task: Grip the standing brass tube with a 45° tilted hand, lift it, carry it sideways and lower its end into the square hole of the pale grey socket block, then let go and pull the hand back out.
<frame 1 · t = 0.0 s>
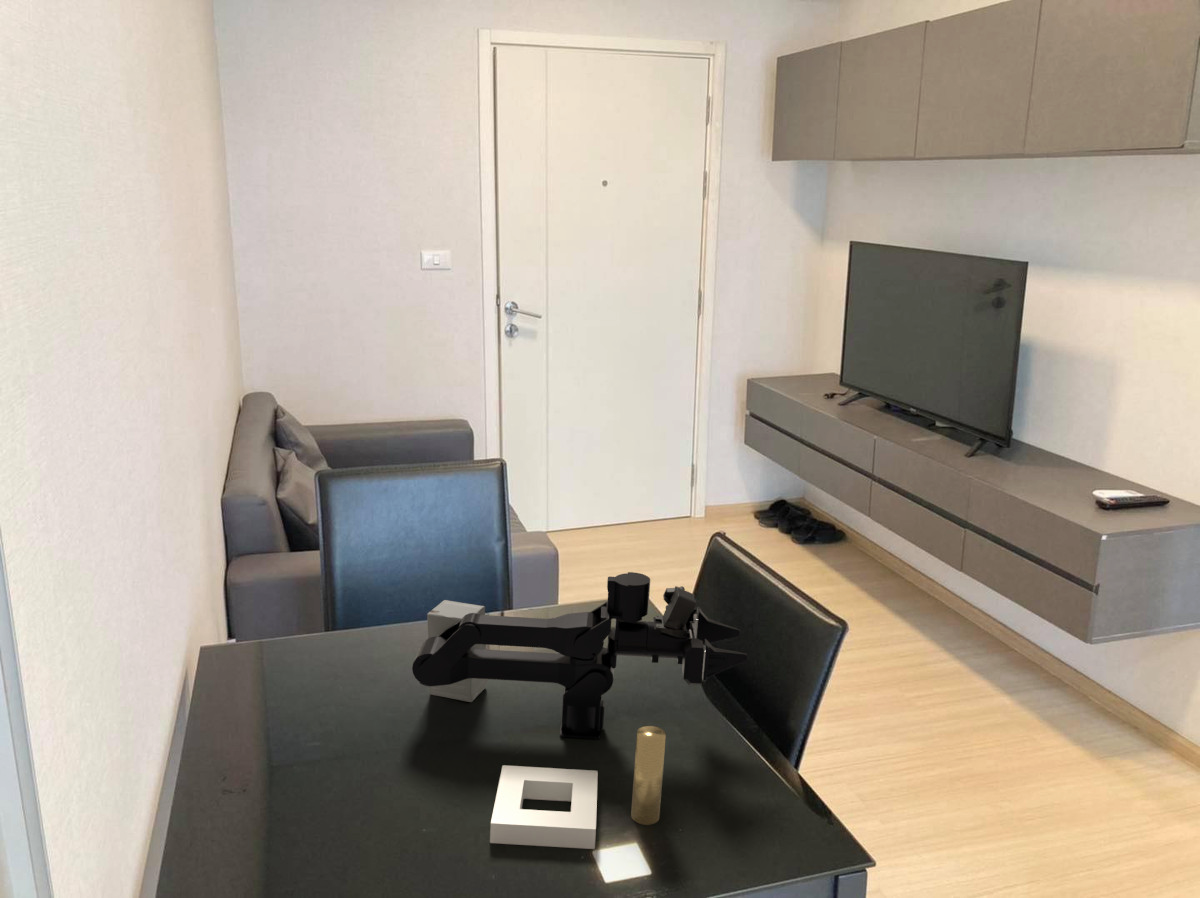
hand: (743, 644, 156), 17 cm above the table, tool horizontal, fingers open, 9 cm apart
skincare box: (456, 693, 170), on the table
brass tube: (645, 816, 138), on the table
socket block: (545, 814, 137), on the table
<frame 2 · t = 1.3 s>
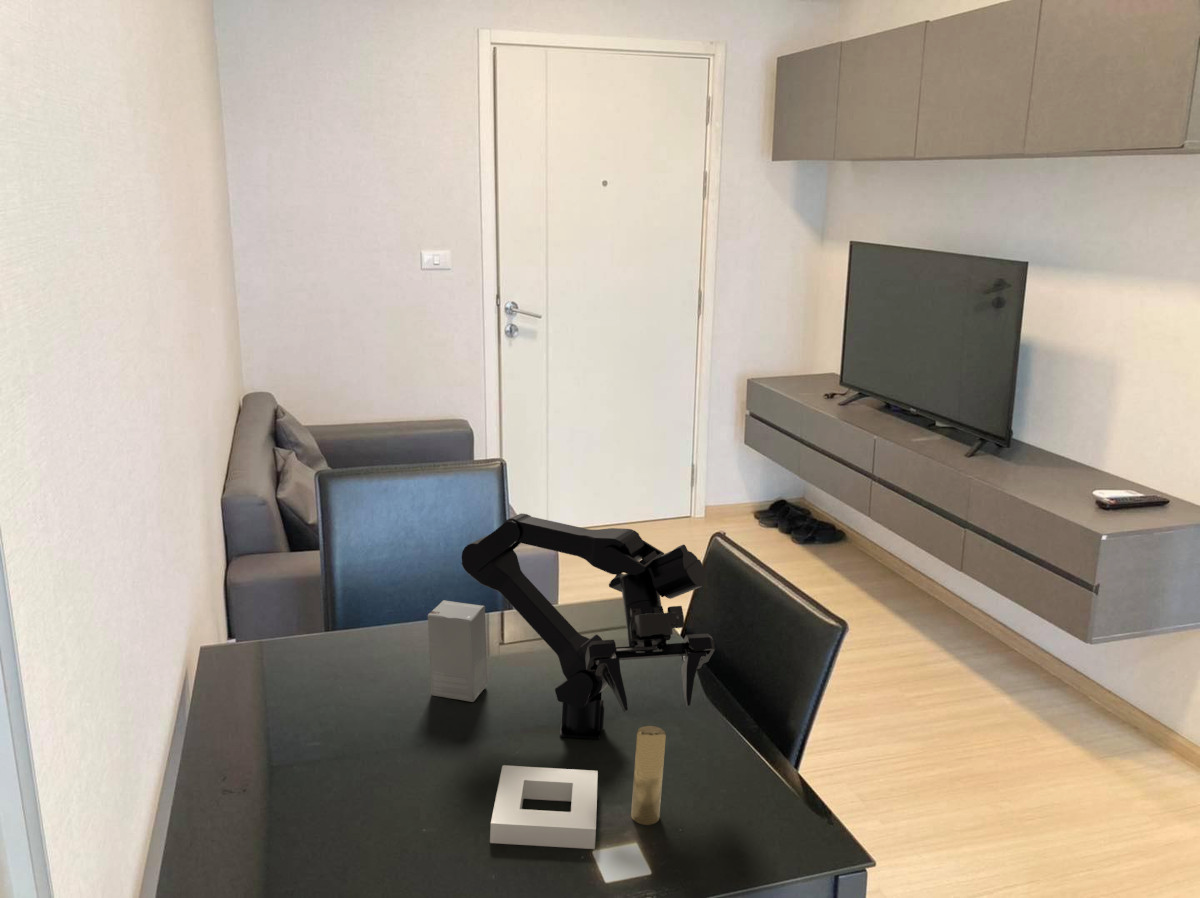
hand: (657, 708, 140), 13 cm above the table, tool tilted 45°, fingers open, 9 cm apart
nothing on the table moved.
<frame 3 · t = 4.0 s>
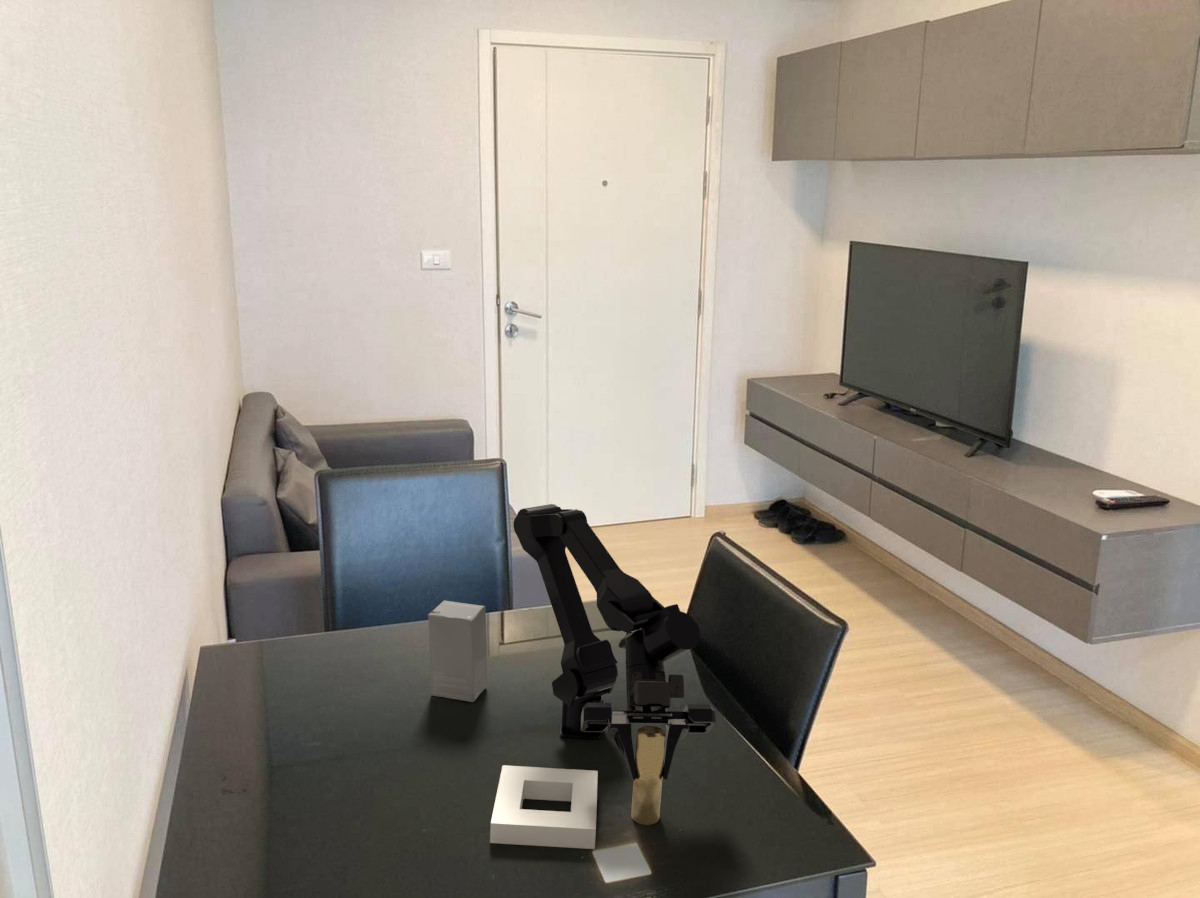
hand: (649, 780, 135), 7 cm above the table, tool tilted 45°, fingers closed on brass tube, 4 cm apart
brass tube: (645, 816, 138), on the table, touching gripper
everything else where it was.
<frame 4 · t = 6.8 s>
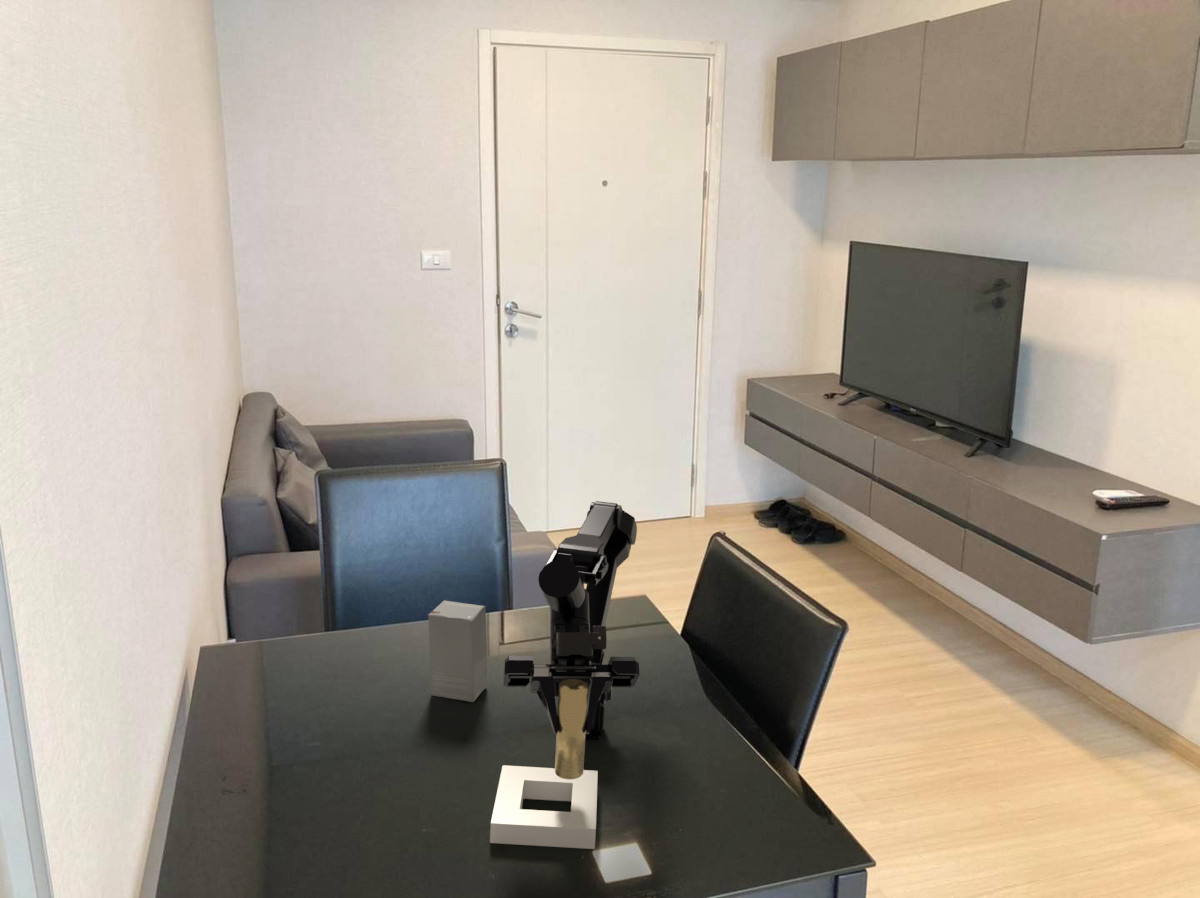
hand: (572, 733, 132), 14 cm above the table, tool tilted 45°, fingers closed on brass tube, 4 cm apart
brass tube: (568, 771, 135), point 7 cm above the table, touching gripper
everything else where it was.
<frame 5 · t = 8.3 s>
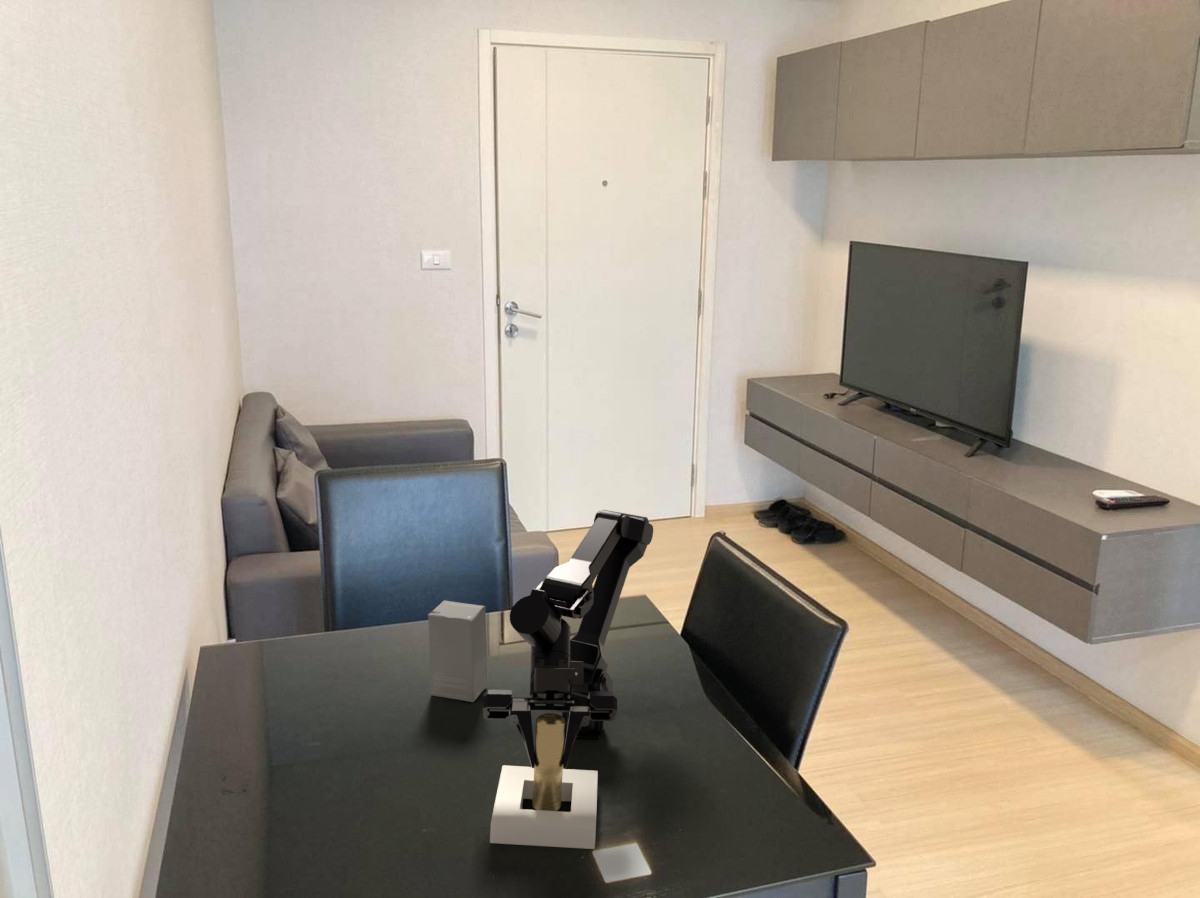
hand: (548, 767, 133), 8 cm above the table, tool tilted 45°, fingers closed on brass tube, 4 cm apart
brass tube: (546, 804, 136), point 2 cm above the table, touching gripper
everything else where it was.
when the fingers open (7 cm above the table, at t = 9.3 s): brass tube stays where it is, resting in socket block.
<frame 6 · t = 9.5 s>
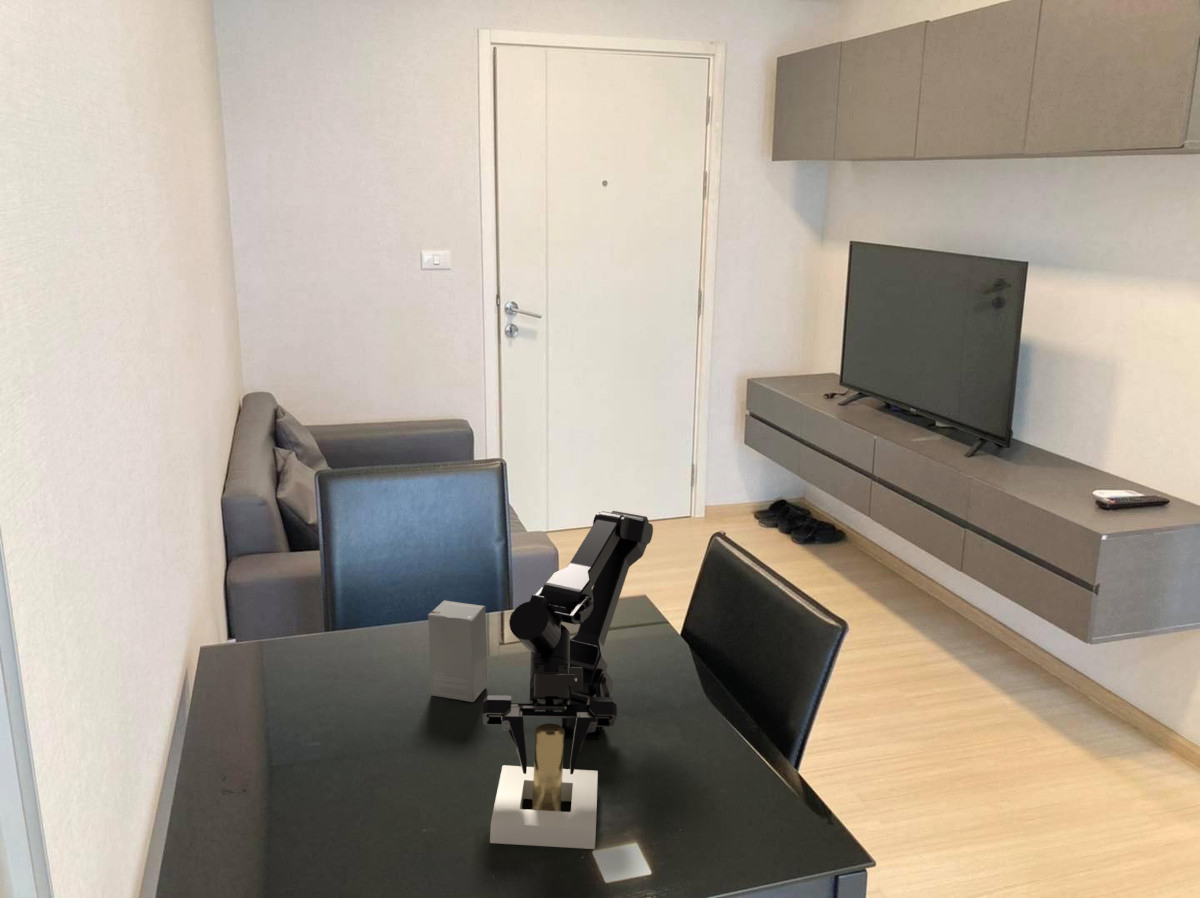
hand: (548, 773, 134), 7 cm above the table, tool tilted 45°, fingers open, 6 cm apart
brass tube: (546, 814, 137), resting in socket block
everything else where it was.
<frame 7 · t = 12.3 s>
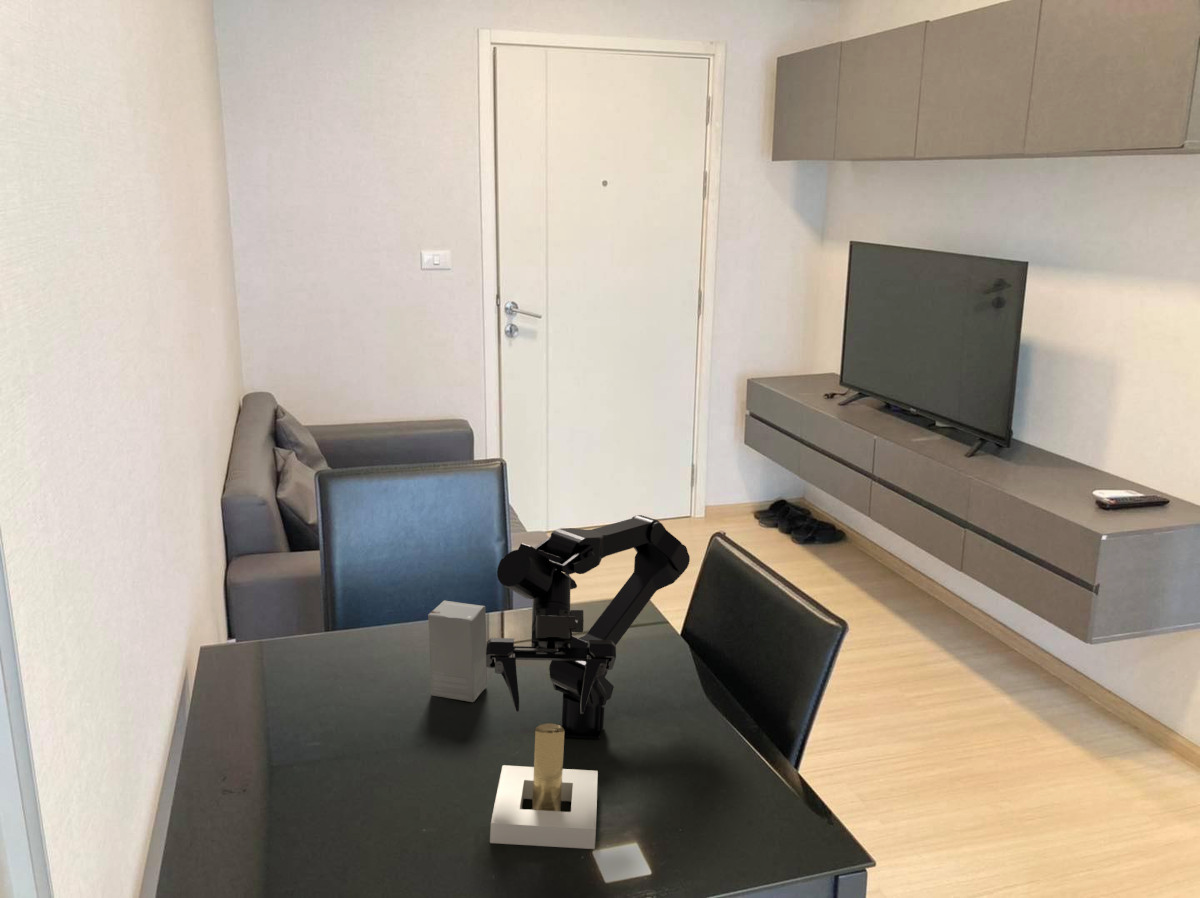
hand: (549, 712, 138), 13 cm above the table, tool tilted 45°, fingers open, 9 cm apart
nothing on the table moved.
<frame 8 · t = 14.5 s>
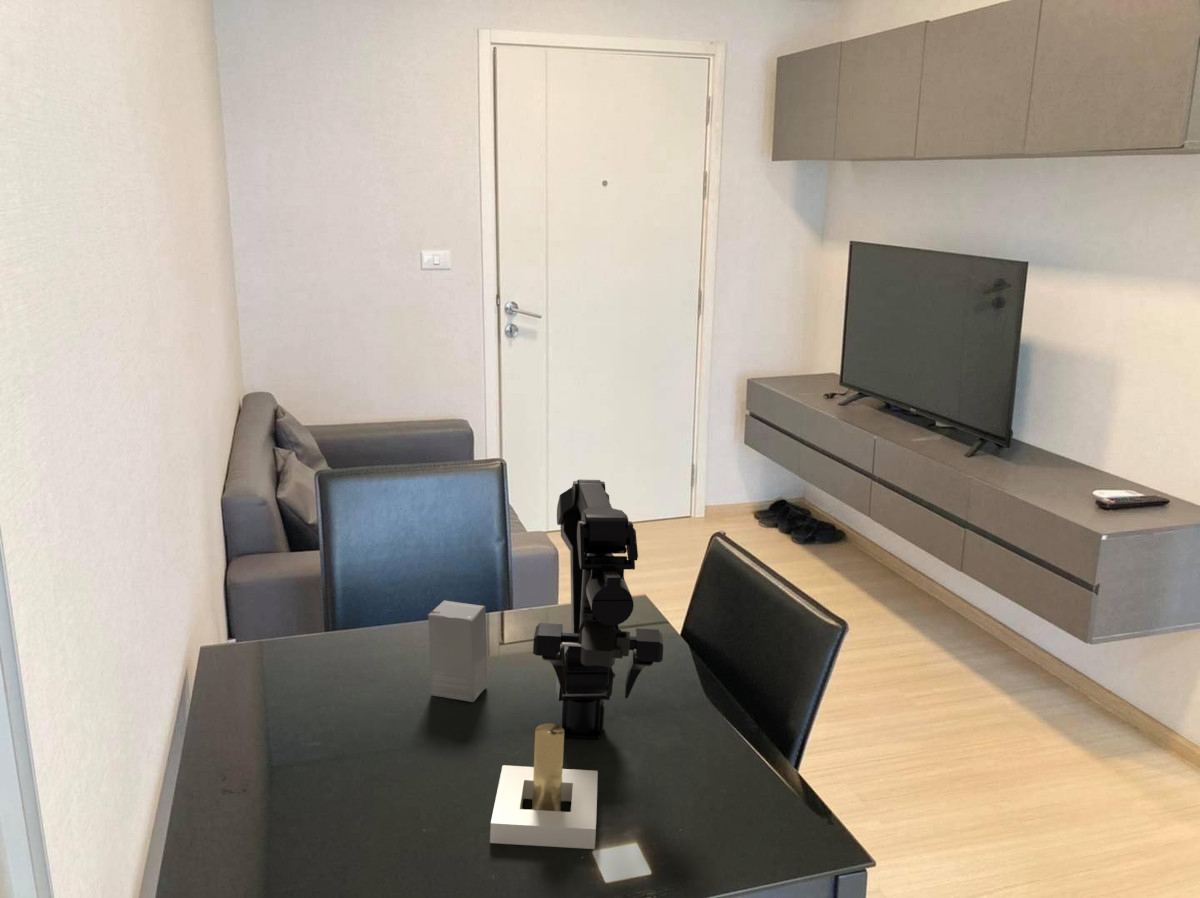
hand: (595, 695, 144), 13 cm above the table, tool pointing down, fingers open, 9 cm apart
nothing on the table moved.
at the end: brass tube 0.1 cm off-centre on the socket block, point 0.0 cm above the socket block's base; brass tube tilted 0°; the gripper is holding nothing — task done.
